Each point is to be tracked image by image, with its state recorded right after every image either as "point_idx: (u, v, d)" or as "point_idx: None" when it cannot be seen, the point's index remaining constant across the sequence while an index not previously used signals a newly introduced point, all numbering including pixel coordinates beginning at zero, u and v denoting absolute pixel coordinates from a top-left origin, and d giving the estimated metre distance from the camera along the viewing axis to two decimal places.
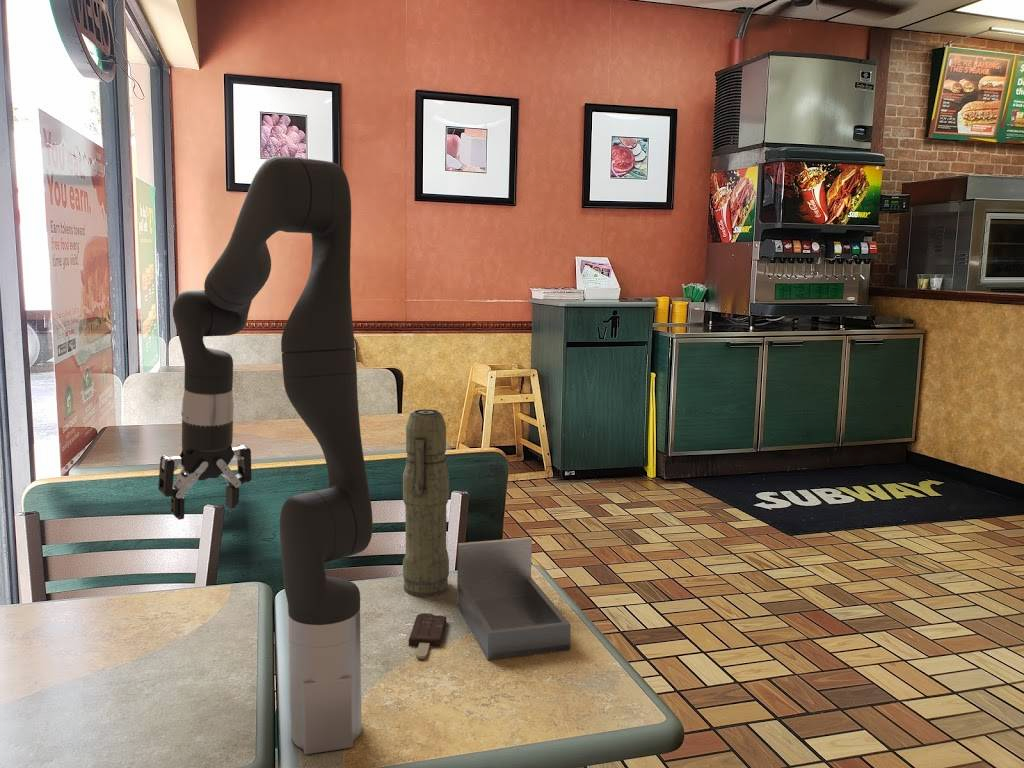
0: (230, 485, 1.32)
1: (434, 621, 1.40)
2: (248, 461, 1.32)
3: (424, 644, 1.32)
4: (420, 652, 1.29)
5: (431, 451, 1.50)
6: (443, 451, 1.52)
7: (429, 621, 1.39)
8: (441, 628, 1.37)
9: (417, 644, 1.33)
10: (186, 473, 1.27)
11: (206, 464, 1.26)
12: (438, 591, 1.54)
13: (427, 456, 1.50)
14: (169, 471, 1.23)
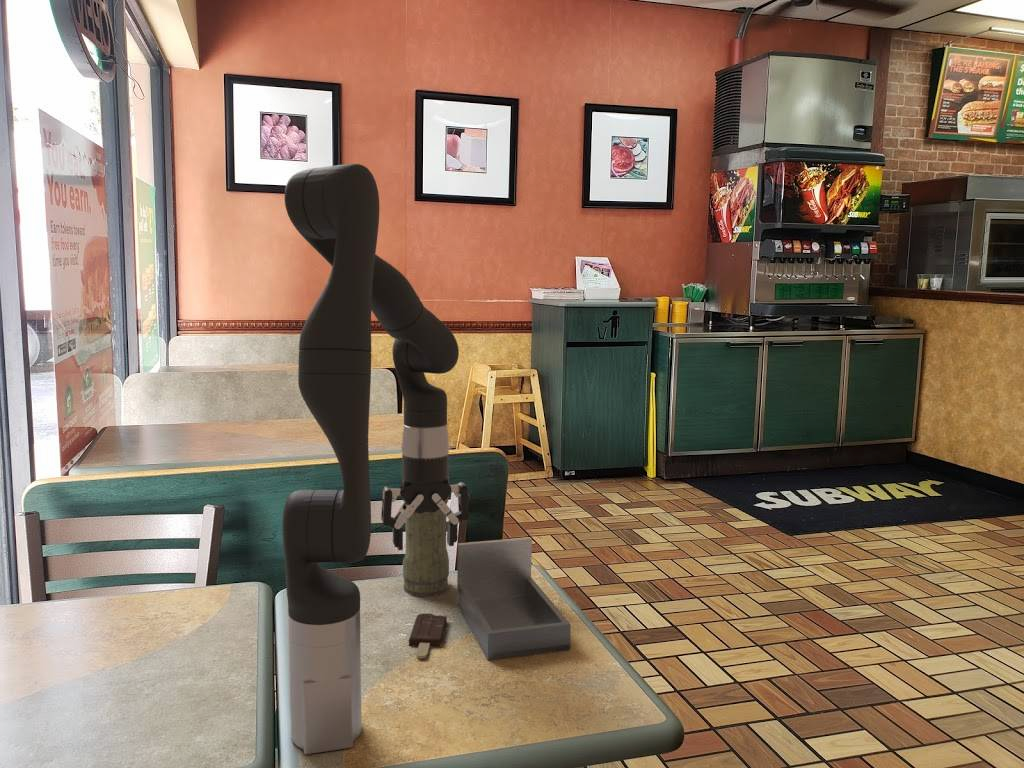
0: (449, 522, 1.34)
1: (434, 621, 1.40)
2: (465, 498, 1.33)
3: (424, 644, 1.32)
4: (420, 651, 1.29)
5: None
6: None
7: (429, 621, 1.39)
8: (441, 628, 1.37)
9: (417, 644, 1.33)
10: (407, 506, 1.33)
11: (421, 497, 1.30)
12: (438, 591, 1.54)
13: None
14: (387, 501, 1.29)
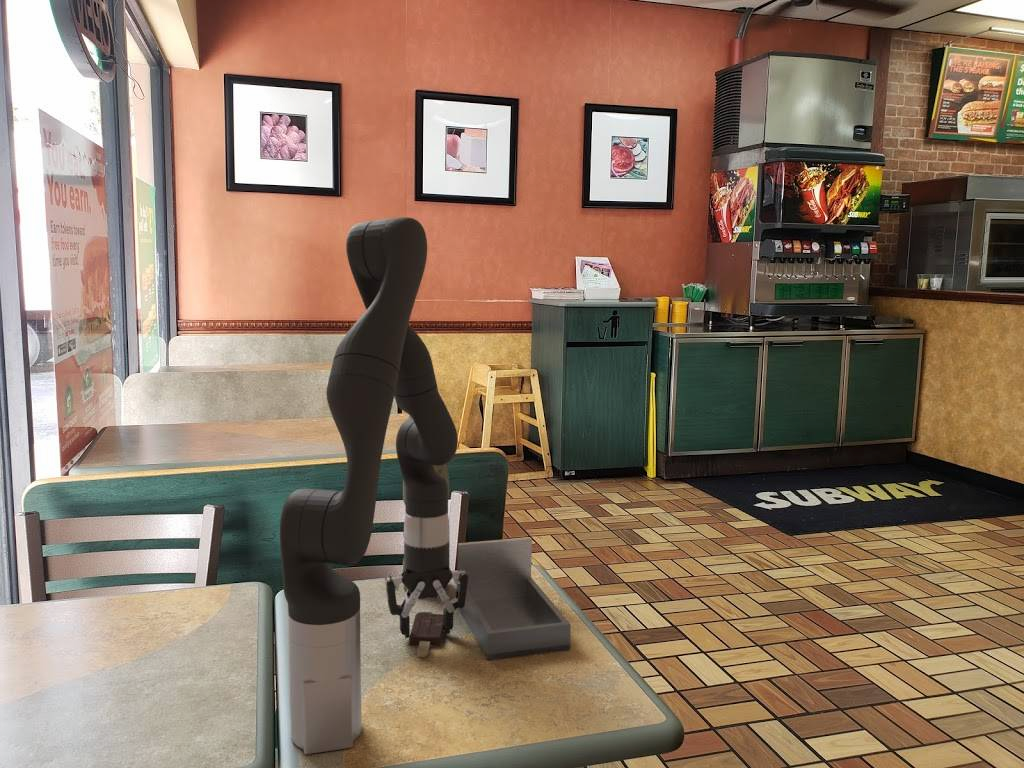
0: (445, 610, 1.36)
1: (433, 619, 1.40)
2: (464, 587, 1.35)
3: (424, 643, 1.32)
4: (421, 650, 1.29)
5: None
6: None
7: (429, 619, 1.39)
8: (441, 626, 1.37)
9: (417, 643, 1.33)
10: None
11: (423, 584, 1.32)
12: None
13: None
14: (390, 591, 1.31)
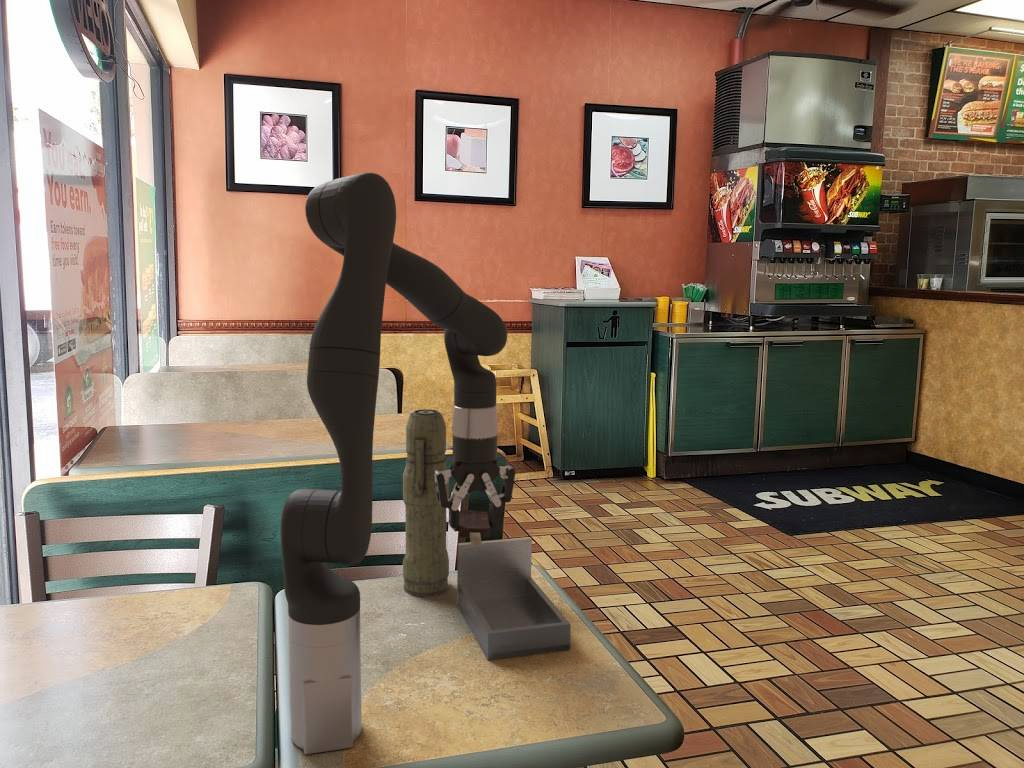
0: (492, 504, 1.37)
1: (477, 515, 1.41)
2: (511, 481, 1.36)
3: (475, 533, 1.33)
4: (474, 539, 1.31)
5: (431, 451, 1.50)
6: (443, 451, 1.52)
7: (473, 515, 1.41)
8: (487, 520, 1.38)
9: (467, 534, 1.34)
10: (460, 486, 1.36)
11: (472, 476, 1.33)
12: (438, 591, 1.54)
13: (427, 456, 1.50)
14: (441, 484, 1.32)
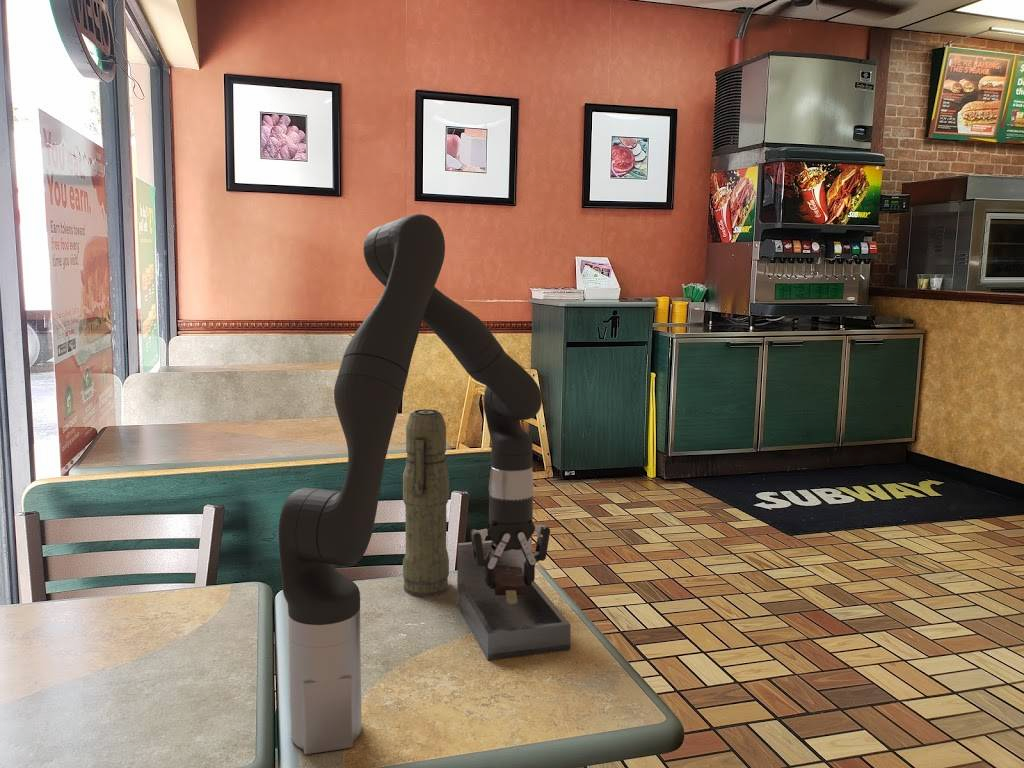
0: (527, 562, 1.40)
1: (512, 571, 1.44)
2: (546, 540, 1.39)
3: (511, 591, 1.36)
4: (510, 598, 1.34)
5: (431, 451, 1.50)
6: (443, 451, 1.52)
7: (508, 571, 1.44)
8: (522, 577, 1.41)
9: (503, 592, 1.37)
10: (496, 545, 1.39)
11: (508, 535, 1.36)
12: (438, 591, 1.54)
13: (427, 456, 1.50)
14: (477, 543, 1.36)
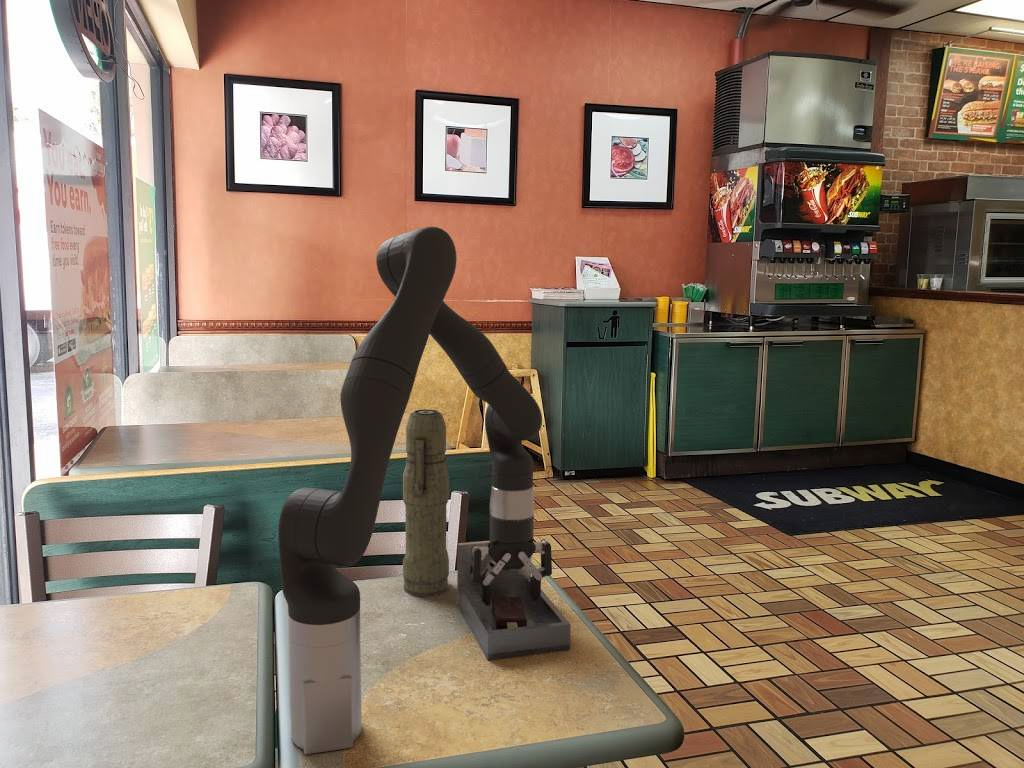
0: (533, 578, 1.41)
1: (511, 602, 1.45)
2: (548, 556, 1.40)
3: (512, 624, 1.37)
4: None
5: (431, 451, 1.50)
6: (443, 451, 1.52)
7: (507, 602, 1.44)
8: (522, 608, 1.42)
9: (504, 624, 1.38)
10: (494, 563, 1.40)
11: (509, 555, 1.37)
12: (438, 591, 1.54)
13: (427, 456, 1.50)
14: (477, 559, 1.36)
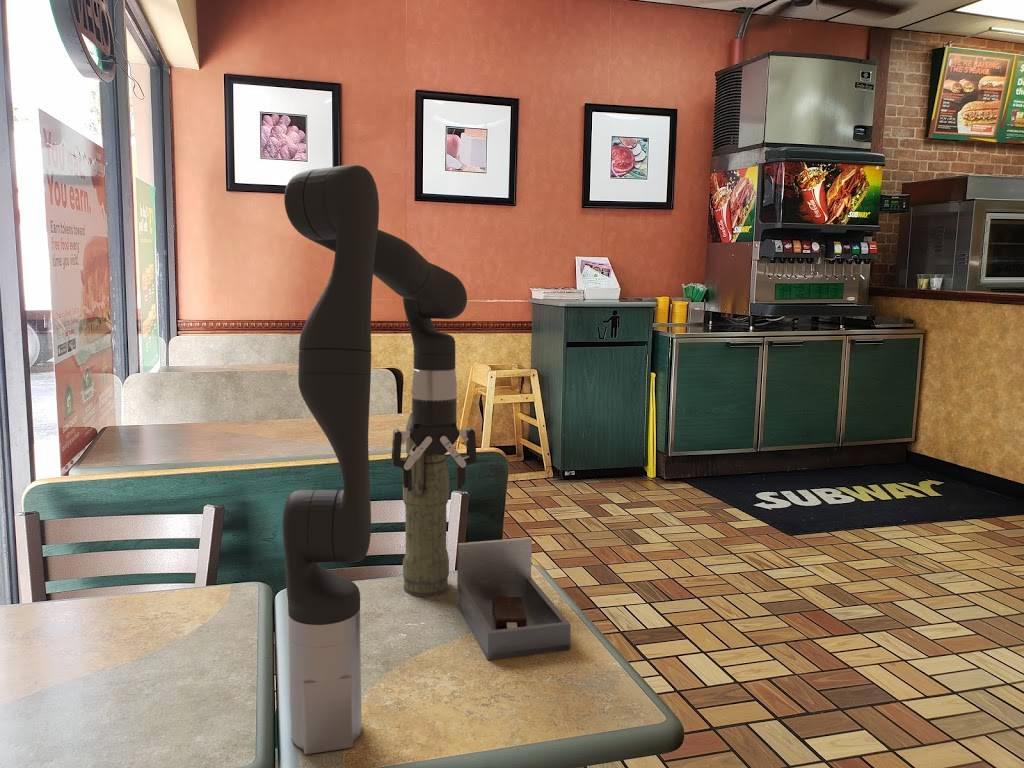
0: (457, 466, 1.38)
1: (512, 602, 1.45)
2: (472, 442, 1.37)
3: (512, 624, 1.37)
4: None
5: None
6: None
7: (508, 602, 1.44)
8: (522, 608, 1.42)
9: (504, 624, 1.38)
10: (417, 449, 1.37)
11: (430, 439, 1.35)
12: (438, 591, 1.54)
13: (427, 456, 1.50)
14: (397, 442, 1.34)
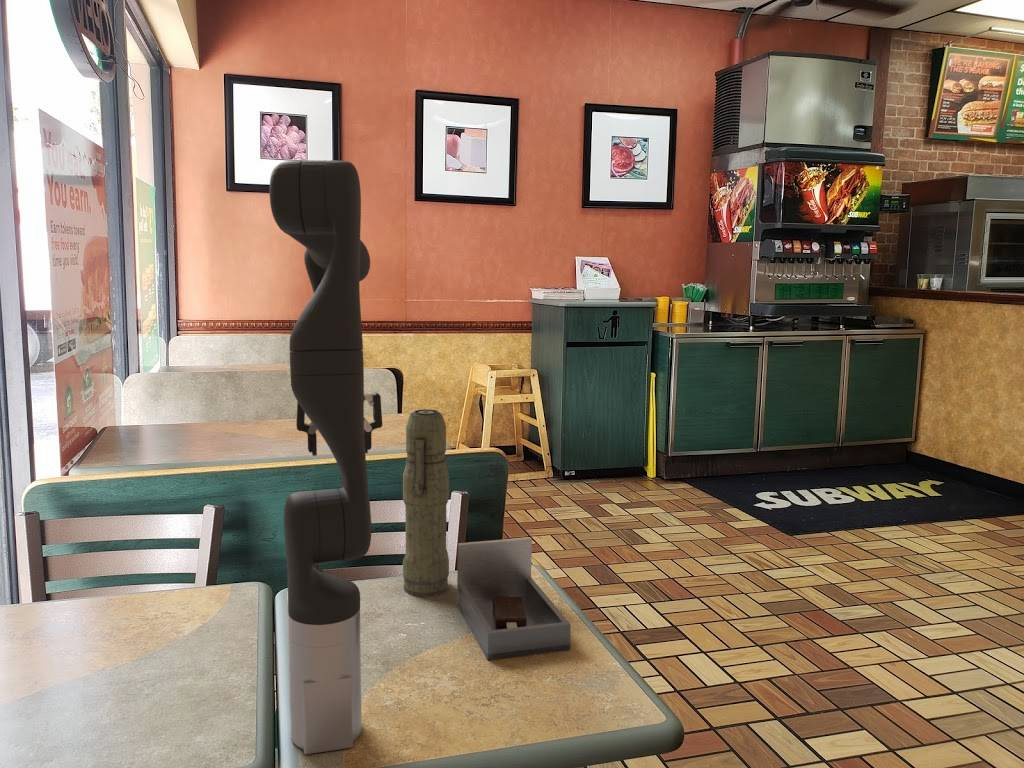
0: (363, 430, 1.39)
1: (512, 602, 1.45)
2: (378, 407, 1.38)
3: (511, 624, 1.37)
4: None
5: (431, 451, 1.50)
6: (443, 451, 1.52)
7: (508, 602, 1.44)
8: (522, 608, 1.42)
9: (504, 624, 1.38)
10: None
11: None
12: (438, 591, 1.54)
13: (427, 456, 1.50)
14: (300, 406, 1.34)
